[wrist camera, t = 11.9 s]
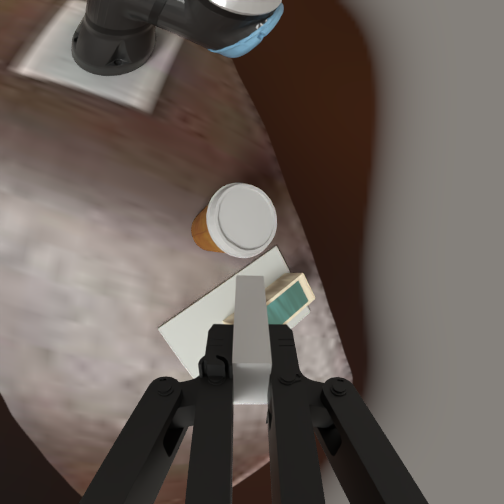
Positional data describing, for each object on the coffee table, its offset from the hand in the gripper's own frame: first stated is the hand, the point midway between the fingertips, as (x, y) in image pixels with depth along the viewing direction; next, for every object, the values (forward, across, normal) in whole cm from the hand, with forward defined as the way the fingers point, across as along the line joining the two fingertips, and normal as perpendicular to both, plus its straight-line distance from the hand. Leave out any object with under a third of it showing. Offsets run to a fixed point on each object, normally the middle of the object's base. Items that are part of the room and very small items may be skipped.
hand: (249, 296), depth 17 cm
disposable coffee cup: (+30, -6, -8) cm, 32 cm away
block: (+21, -1, -22) cm, 30 cm away
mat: (+25, 0, -22) cm, 33 cm away
